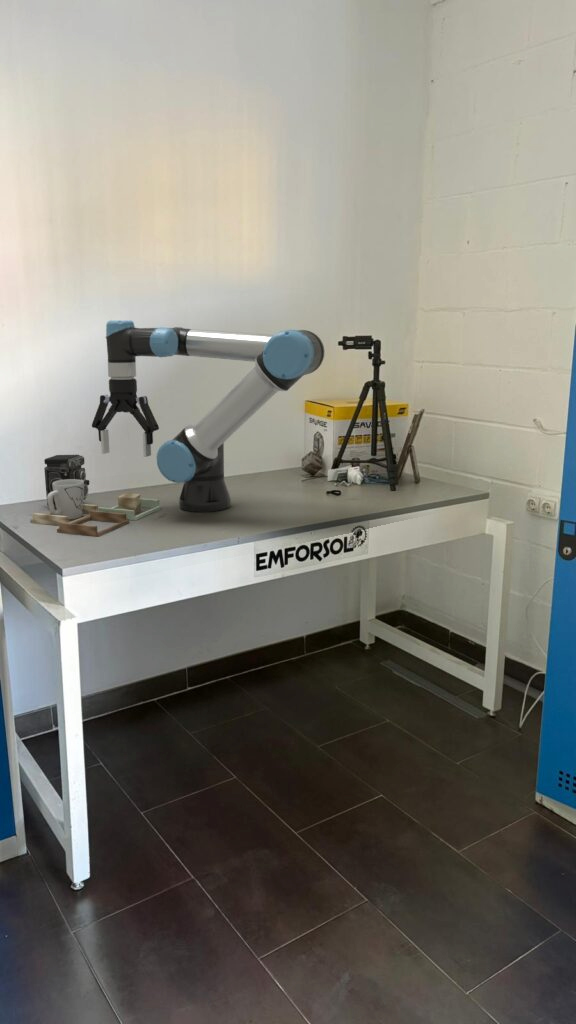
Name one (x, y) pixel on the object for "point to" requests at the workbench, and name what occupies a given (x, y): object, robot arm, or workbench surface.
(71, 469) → the camera
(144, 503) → the sage rim
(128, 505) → the birch cube
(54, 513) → the mug
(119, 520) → the walnut rim
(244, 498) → the workbench surface
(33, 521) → the birch rim
